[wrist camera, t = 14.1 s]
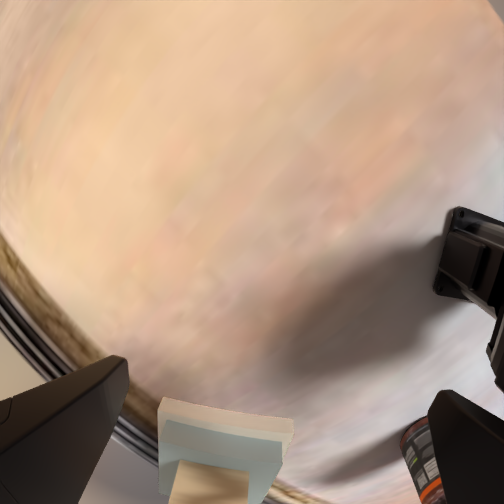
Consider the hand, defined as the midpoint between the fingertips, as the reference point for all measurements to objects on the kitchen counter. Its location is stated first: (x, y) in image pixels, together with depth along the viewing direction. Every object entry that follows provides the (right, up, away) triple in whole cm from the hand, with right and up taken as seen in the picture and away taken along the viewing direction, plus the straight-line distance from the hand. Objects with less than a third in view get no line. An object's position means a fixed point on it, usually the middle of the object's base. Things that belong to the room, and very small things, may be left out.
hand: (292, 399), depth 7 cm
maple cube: (-4, -16, +13) cm, 21 cm away
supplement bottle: (+16, -14, +17) cm, 27 cm away
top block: (-4, -15, +16) cm, 22 cm away
